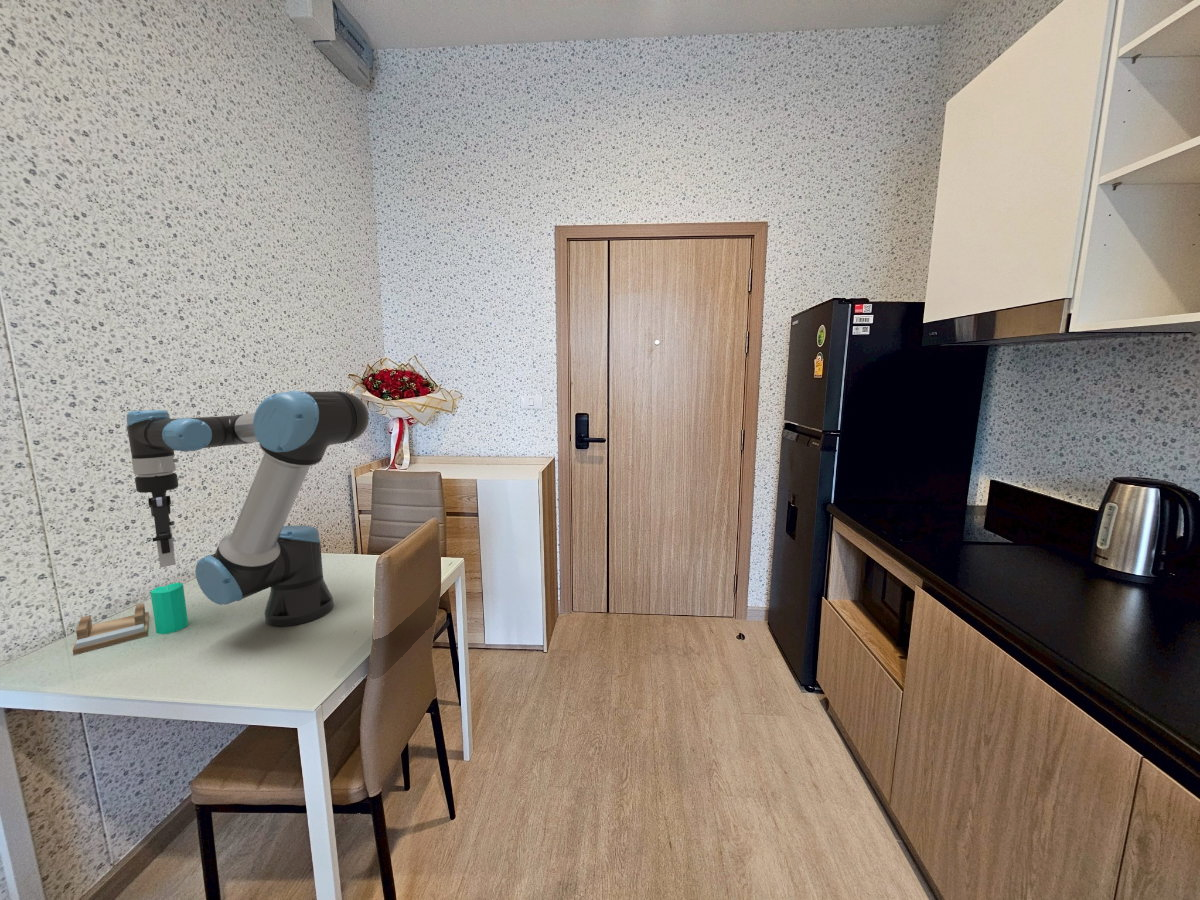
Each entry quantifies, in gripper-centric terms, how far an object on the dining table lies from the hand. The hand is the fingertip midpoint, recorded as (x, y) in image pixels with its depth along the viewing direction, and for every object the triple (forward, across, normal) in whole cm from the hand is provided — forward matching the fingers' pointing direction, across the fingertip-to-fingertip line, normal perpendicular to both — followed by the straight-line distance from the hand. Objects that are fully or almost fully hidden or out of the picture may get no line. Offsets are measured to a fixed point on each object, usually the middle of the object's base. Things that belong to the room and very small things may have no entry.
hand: (167, 558), depth 117 cm
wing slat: (+16, -1, +11) cm, 19 cm away
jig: (+17, +4, +11) cm, 21 cm away
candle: (+17, -2, +1) cm, 17 cm away
